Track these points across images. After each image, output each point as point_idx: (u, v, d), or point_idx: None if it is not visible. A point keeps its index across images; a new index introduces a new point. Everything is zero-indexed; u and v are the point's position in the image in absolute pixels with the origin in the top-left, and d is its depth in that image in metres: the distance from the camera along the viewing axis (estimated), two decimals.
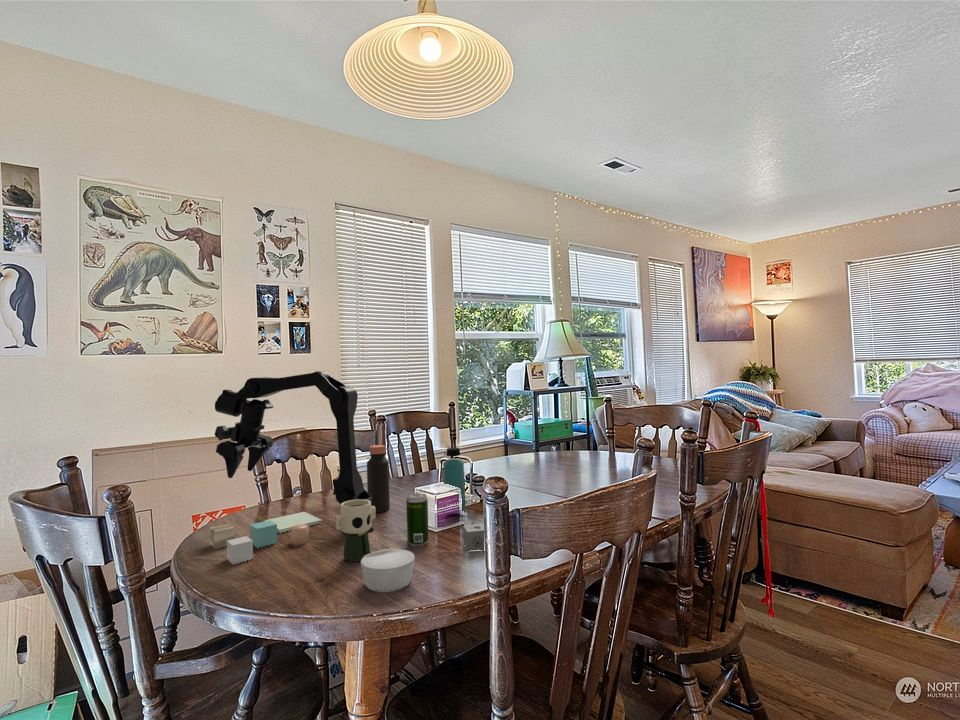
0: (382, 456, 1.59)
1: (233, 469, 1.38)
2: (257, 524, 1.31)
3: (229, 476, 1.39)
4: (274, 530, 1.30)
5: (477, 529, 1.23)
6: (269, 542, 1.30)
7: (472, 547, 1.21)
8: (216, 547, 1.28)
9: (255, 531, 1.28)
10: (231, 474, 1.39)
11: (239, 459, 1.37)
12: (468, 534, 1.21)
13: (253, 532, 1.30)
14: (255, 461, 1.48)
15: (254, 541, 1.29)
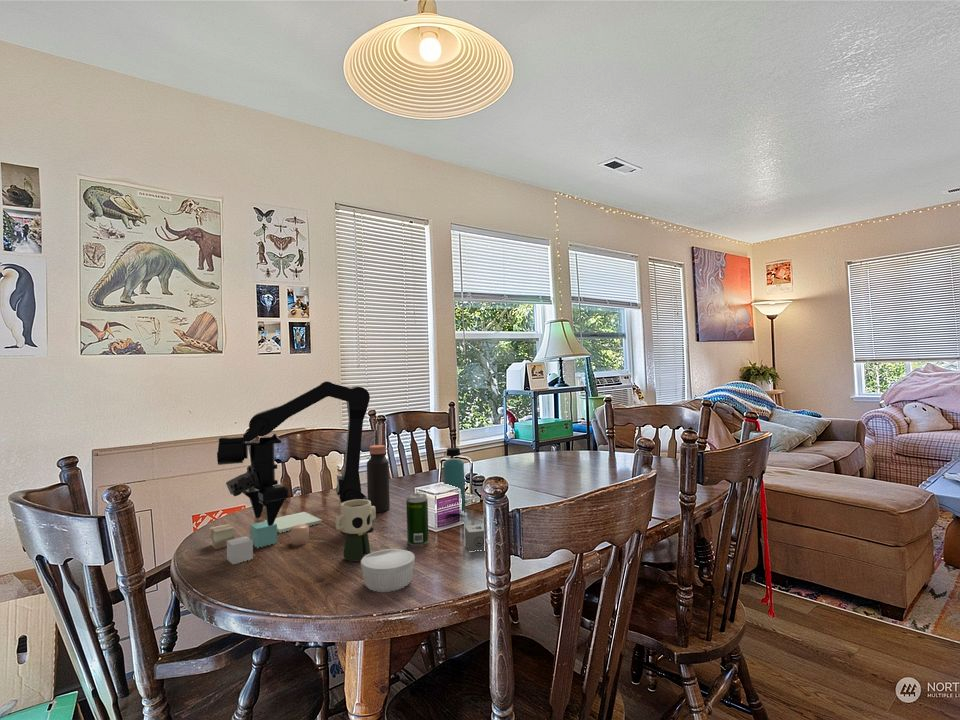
0: (382, 456, 1.59)
1: (276, 514, 1.28)
2: (257, 524, 1.31)
3: (270, 524, 1.28)
4: (274, 530, 1.30)
5: (478, 529, 1.23)
6: (269, 542, 1.30)
7: (473, 547, 1.21)
8: (216, 547, 1.28)
9: (255, 531, 1.28)
10: (273, 520, 1.28)
11: None
12: (469, 534, 1.21)
13: (252, 532, 1.30)
14: (262, 505, 1.35)
15: (254, 541, 1.29)
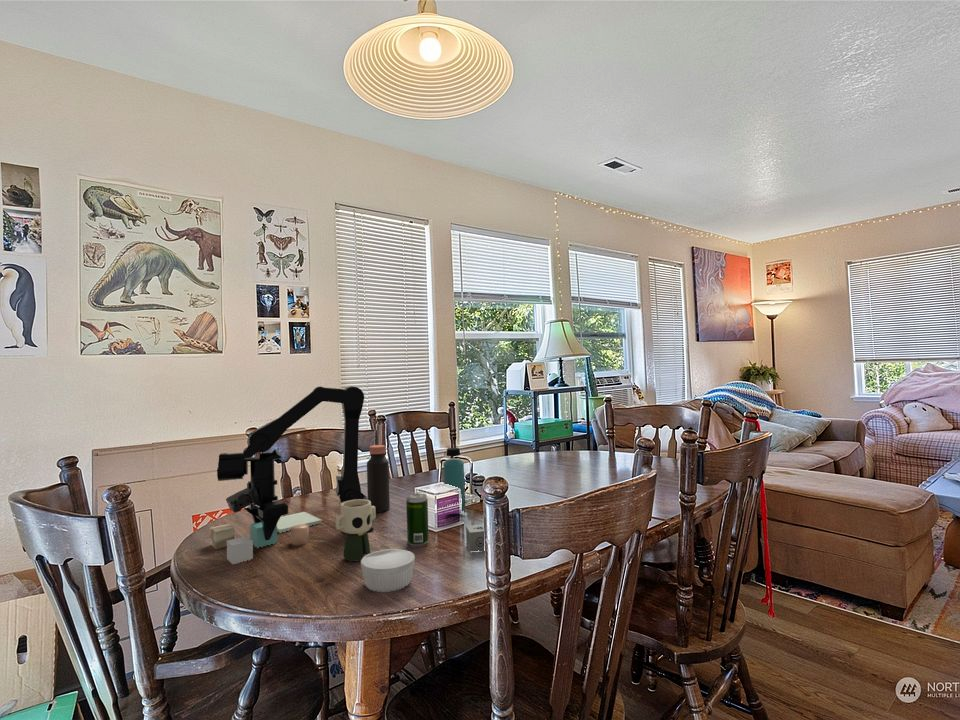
0: (382, 456, 1.59)
1: (273, 528, 1.29)
2: (257, 524, 1.31)
3: (267, 538, 1.29)
4: (274, 530, 1.30)
5: (480, 530, 1.22)
6: (269, 541, 1.30)
7: (475, 548, 1.21)
8: (216, 547, 1.28)
9: (255, 531, 1.28)
10: (270, 535, 1.29)
11: None
12: (471, 535, 1.21)
13: (252, 532, 1.30)
14: None
15: (254, 541, 1.29)
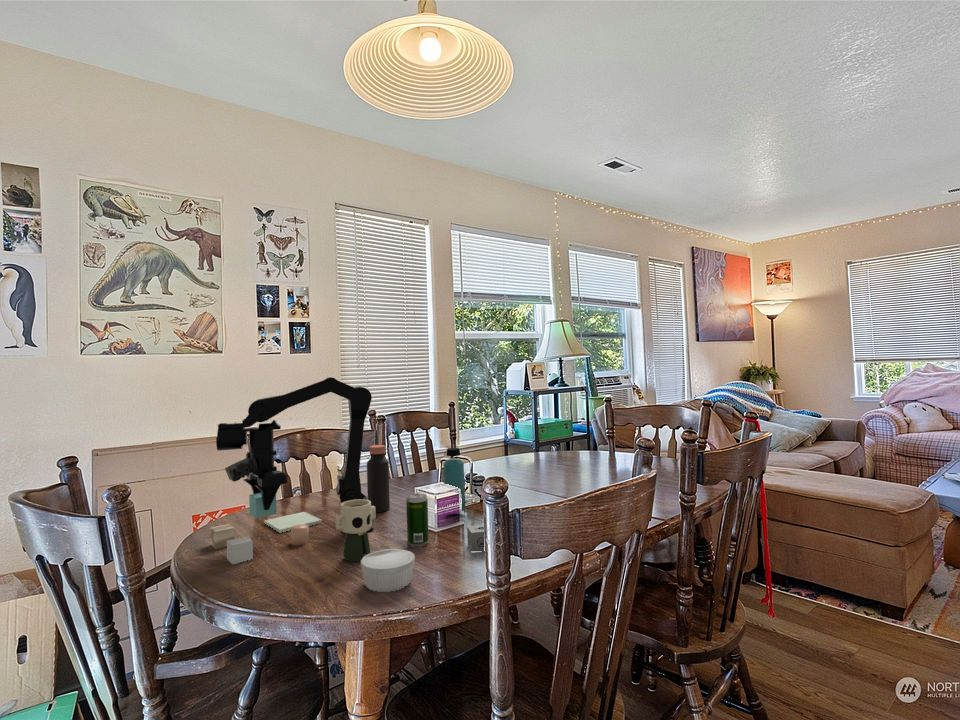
0: (382, 456, 1.59)
1: (272, 498, 1.29)
2: (256, 494, 1.31)
3: (266, 508, 1.29)
4: (273, 500, 1.31)
5: (481, 530, 1.22)
6: (268, 512, 1.30)
7: (476, 548, 1.21)
8: (216, 547, 1.28)
9: (254, 501, 1.28)
10: (269, 505, 1.29)
11: None
12: (472, 535, 1.21)
13: (252, 502, 1.30)
14: None
15: (253, 511, 1.29)
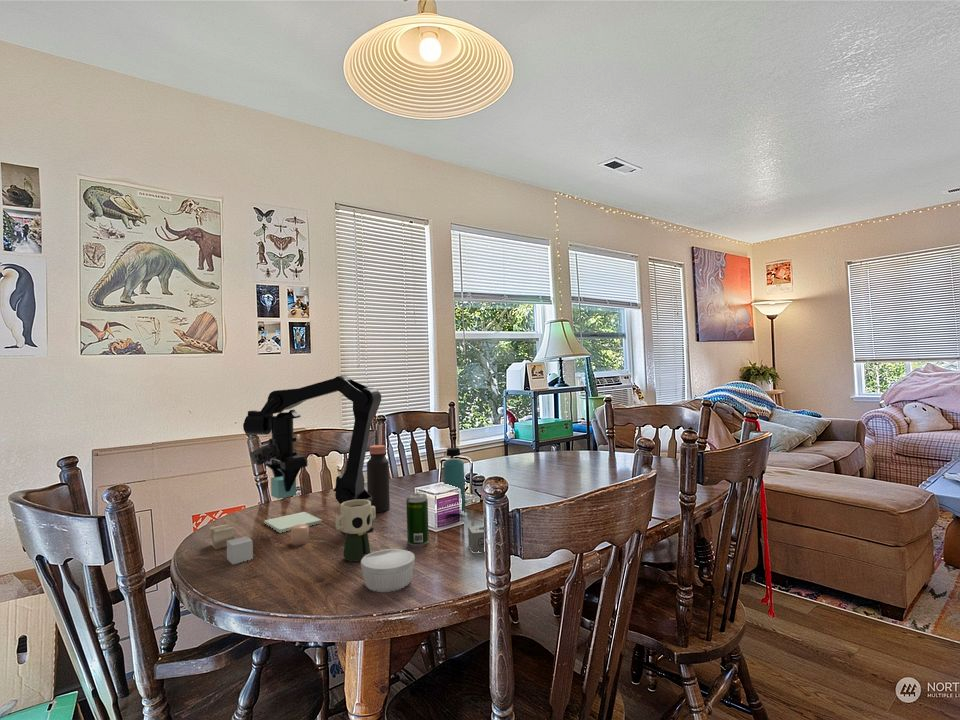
0: (382, 456, 1.59)
1: (293, 481, 1.41)
2: (277, 477, 1.43)
3: (288, 490, 1.40)
4: (293, 483, 1.42)
5: (482, 530, 1.22)
6: (289, 493, 1.41)
7: (477, 548, 1.20)
8: (216, 547, 1.28)
9: (276, 483, 1.40)
10: (290, 487, 1.41)
11: None
12: (473, 535, 1.20)
13: (273, 484, 1.41)
14: None
15: (275, 492, 1.40)
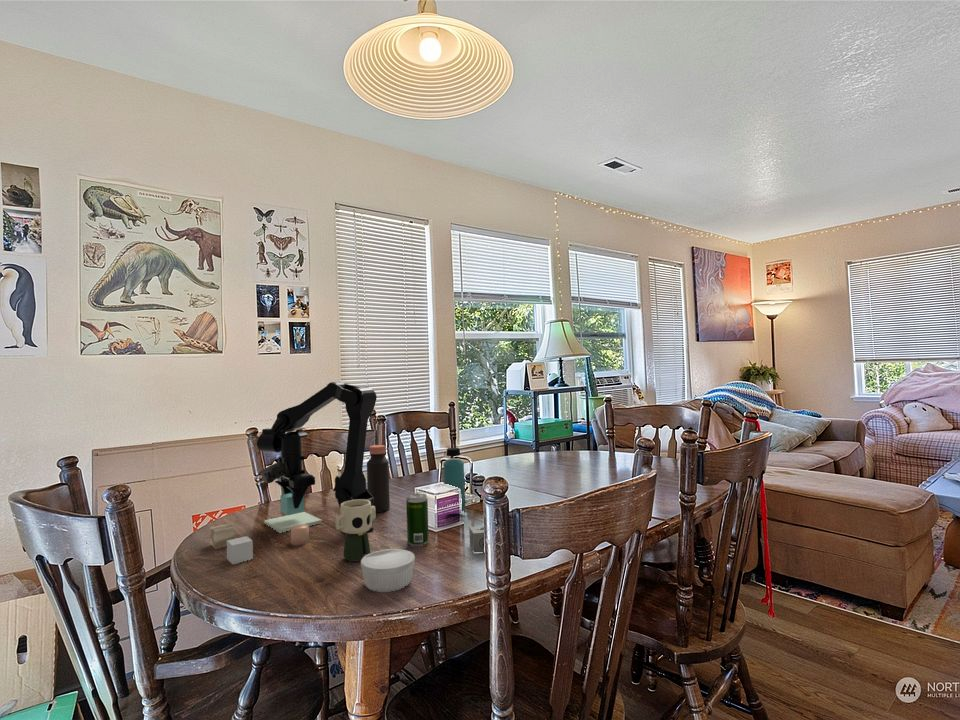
0: (382, 456, 1.59)
1: (301, 498, 1.45)
2: (286, 494, 1.47)
3: (296, 507, 1.45)
4: (302, 499, 1.47)
5: (483, 530, 1.22)
6: (297, 510, 1.46)
7: (478, 549, 1.20)
8: (216, 547, 1.28)
9: (285, 500, 1.45)
10: (299, 504, 1.45)
11: None
12: (474, 535, 1.20)
13: (283, 501, 1.46)
14: None
15: (284, 509, 1.45)
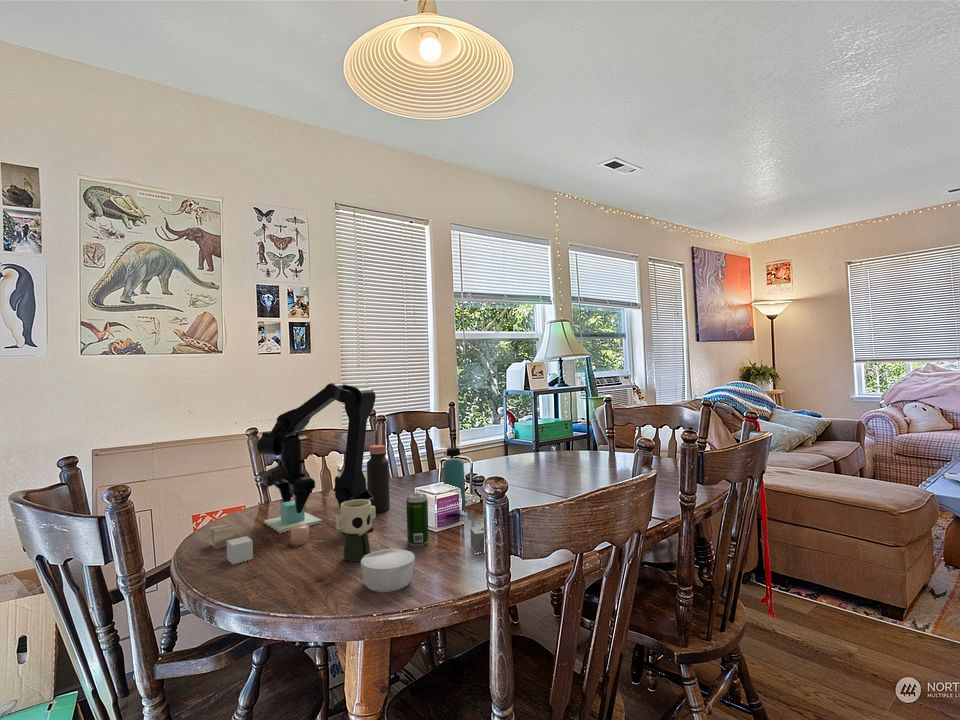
0: (382, 456, 1.59)
1: (304, 502, 1.44)
2: (286, 502, 1.47)
3: (299, 511, 1.44)
4: None
5: None
6: (297, 518, 1.46)
7: (479, 549, 1.20)
8: (216, 547, 1.28)
9: (285, 508, 1.45)
10: (301, 508, 1.44)
11: None
12: (475, 536, 1.20)
13: (283, 509, 1.46)
14: (290, 495, 1.52)
15: (284, 517, 1.45)
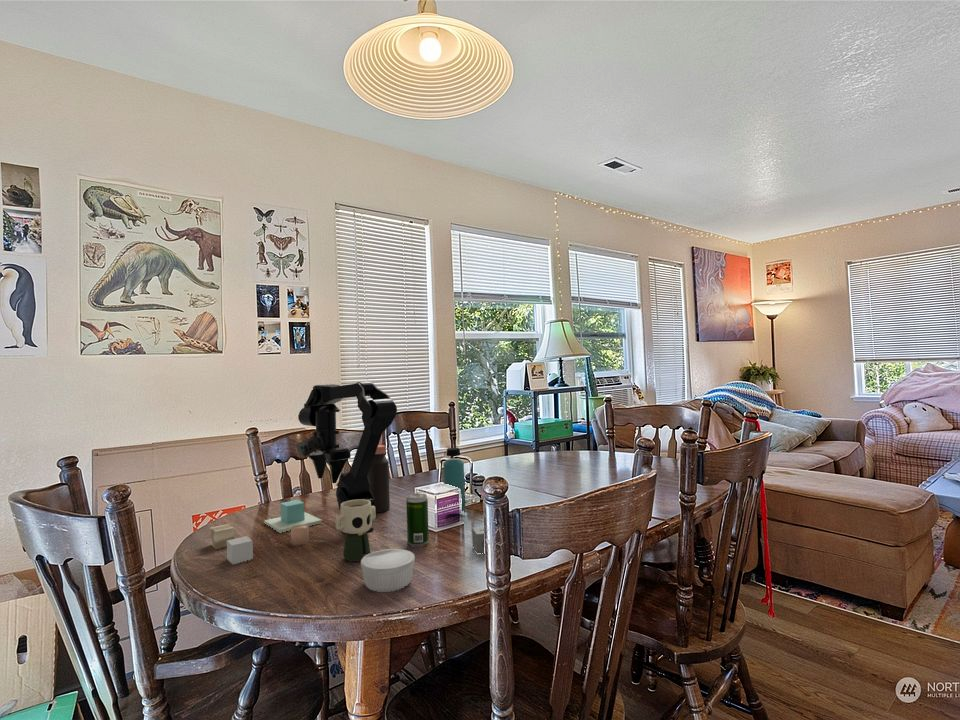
0: (382, 456, 1.59)
1: (339, 473, 1.45)
2: (286, 502, 1.47)
3: (334, 481, 1.45)
4: (302, 508, 1.47)
5: None
6: (297, 518, 1.46)
7: (481, 549, 1.20)
8: (216, 547, 1.28)
9: (285, 508, 1.45)
10: (336, 478, 1.45)
11: None
12: (477, 536, 1.19)
13: (283, 509, 1.46)
14: (323, 467, 1.53)
15: (284, 517, 1.45)
